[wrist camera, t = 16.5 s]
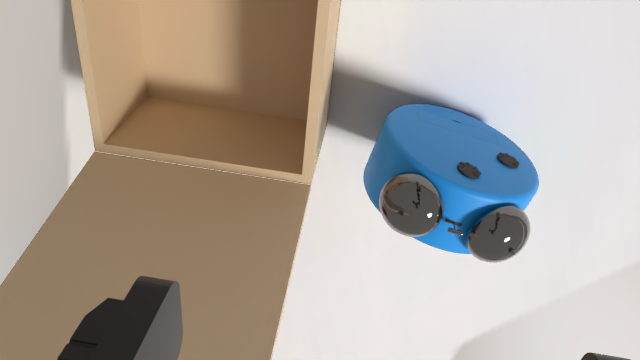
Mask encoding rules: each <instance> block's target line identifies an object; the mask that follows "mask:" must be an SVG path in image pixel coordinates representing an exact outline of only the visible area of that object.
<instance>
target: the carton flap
mask: <svg viewBox="0 0 640 360" xmlns="http://www.w3.org/2000/svg"><path fill="white" fill-rule="evenodd" d="M310 190H311V185H306V184H300V183H293V182H287V181H281V180H274V179H268V178H261V177H255V176H248V175H242V174H236V173H229V172H223V171H216V170H210V169H203V168H197V167H191V166H184V165H178V164H171V163H165V162H158V161H152V160H146V159H139V158H133V157H126V156H120V155H113V154H107V153H100V152H94V153H93V154H92V156H91V157H90V159H89V160H88V162H87V163H86V164H85V166H84V167H83V169H82V170H81V172H80V173H79V174H78V176H77V177H76V179H75V180H74V182H73V183H72V184H71V186H70V187H69V189H68V190H67V191H66V193H65V194H64V196H63V197H62V199H61V200H60V202H59V203H58V204H57V206H56V207H55V209H54V210H53V211H52V213H51V214H50V216H49V217H48V219H47V220H46V222H45V223H44V224H43V226H42V227H41V229H40V230H39V231H38V233H37V234H36V236H35V237H34V239H33V240H32V241H31V243H30V244H29V246H28V247H27V248H26V250H25V251H24V253H23V254H22V256H21V257H20V259H19V260H18V261H17V263H16V264H15V266H14V267H13V268H12V270H11V271H10V273H9V274H8V276H7V277H6V278H5V280H4V281H3V283H2V284H1V286H0V360H57V358H58V356H59V355H60V353H61V352H62V350H63V349H64V347H65V346H66V344H69V342H70V338H71V337H72V335H73V333H74V332H75V330H76V329H77V327H78V326H79V324H80V323H81V321H82V320H83V318H84V317H85V315H87V314H88V313H89V312H90V311H92V310H93V309H94V308H96V307H97V306H98V305H99V304H101V303H102V302H103V301H105V300H106V299H107V298H113V299H119V300H124V299H125V297H126V295H127V294H128V292H129V290H130V289H131V287H132V285H133V284H134V282H135V281H136V279H137V278H138V277H139V276H147V277H153V278H159V279H165V280H171V281H177V282H178V283H179V286H180V296H181V310H182V324H183V338H182V345H181V349H180V353H179V357H178V360H272V355H273V351H274V347H275V342H276V338H277V334H278V329H279V325H280V321H281V316H282V312H283V308H284V303H285V299H286V295H287V290H288V286H289V282H290V277H291V273H292V269H293V264H294V260H295V256H296V251H297V247H298V243H299V238H300V234H301V229H302V225H303V221H304V216H305V212H306V208H307V203H308V199H309V195H310Z"/></svg>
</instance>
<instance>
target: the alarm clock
mask: <svg viewBox="0 0 640 360" xmlns="http://www.w3.org/2000/svg"><path fill="white" fill-rule="evenodd" d="M364 185H365V188H366V191H367V194H368V196H369V198H370V200H371V201H372V203H373V204H374V206H375V207H376V208H377V209H378V210H379V212H380V213H381V214H382V216H383V219H384V220H385V222H386V223H387V224H388V225H389V226H390V227H391V228H392V229H393V230H394V231H396V232H398V233H400V234H402V235H405V236H409V237H413V238H415V239H417V240H419V241H421V242H423V243H425V244H428V245H430V246H433V247H436V248H439V249H442V250H445V251H450V252H455V253H463V254H472V255H473V256H474V257H476V258H477V259H479V260H481V261H485V262H501V261H505V260H508V259H510V258H512V257H513V256H515V255H516V254H518V253H519V252H520V251H521V250H522V249H523V247H524V246H525V245H526V243H527V241H528V238H529V235H530V222H529V219H528V217H527V215H526V214H525V212H524V210H525V208H526V207H527V205H528V204H529V202H530V201H531V199H532V198H533V197H534V195H535V193H536V192H537V189H538V186H539V180H538V174H537V171H536V169H535V167H534V165H533V163H532V162H531V161H530V159H529V158H528V157H527V155H526V154H525V153H524V152H523V151H522V150H521V149H520V148H519V147H518V146H517V145H516V144H515V143H514V142H512V141H511V140H510V139H509V138H507V137H506V136H505V135H503V134H502V133H500V132H499V131H497V130H496V129H494V128H492V127H491V126H489V125H487V124H485V123H483V122H481V121H479V120H477V119H475V118H473V117H471V116H468V115H466V114H463V113H461V112H458V111H455V110H452V109H448V108H444V107H440V106H435V105H428V104H409V105H404V106H400V107H398V108H396V109H394V110H393V111H392V112H390V113H389V115H388V116H387V118H386V120H385V122H384V124H383V127H382V129H381V132H380V134H379V136H378V139H377V141H376V143H375V146H374V148H373V150H372V153H371V155H370V157H369V160H368V162H367V165H366V167H365V170H364Z"/></svg>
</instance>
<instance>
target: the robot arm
mask: <svg viewBox="0 0 640 360" xmlns="http://www.w3.org/2000/svg"><path fill="white" fill-rule="evenodd" d="M182 338H183V324H182V310H181V296H180V286H179V283H178V282H177V281H171V280H165V279H159V278H153V277H147V276H139V277H138V278H137V279H136V281H135V282H134V284H133V285H132V287H131V289H130V290H129V292H128V294H127V295H126V297H125V299H124V300H119V299H113V298H107V299H106V300H105V301H103V302H102V303H101V304H99V305H98V306H97V307H96V308H94V309H93V310H92V311H90V312H89V313H88V314H87V315H85V317H84V318H83V320H82V321H81V323H80V324H79V326H78V327H77V329H76V330H75V332H74V333H73V335H72V337H71V338H70V342H69V344H66V346H65V347H64V349H63V350H62V352H61V353H60V355H59V356H58V358H57V360H178V357H179V353H180V349H181V345H182ZM581 360H630V359H625V358H619V357H614V356H607V355H601V354H596V353H587V354H585V355H584V356H583V358H582V359H581Z"/></svg>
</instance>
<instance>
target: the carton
mask: <svg viewBox="0 0 640 360" xmlns="http://www.w3.org/2000/svg"><path fill="white" fill-rule="evenodd" d="M340 4H341V0H71V6H72V12H73V18H74V24H75V30H76V37H77V43H78V49H79V55H80V61H81V67H82V73H83V80H84V86H85V92H86V98H87V104H88V110H89V116H90V123H91V129H92V135H93V141H94V147H95V151H99V152H105V153H111V154H118V155H124V156H131V157H137V158H144V159H150V160H156V161H163V162H169V163H176V164H182V165H189V166H195V167H202V168H208V169H214V170H221V171H227V172H234V173H240V174H247V175H253V176H259V177H266V178H272V179H279V180H285V181H292V182H298V183H304V184H311V183H312V179H313V175H314V172H315V168H316V164H317V160H318V157H319V153H320V149H321V145H322V141H323V138H324V134H325V130H326V125H327V116H328V108H329V99H330V91H331V82H332V73H333V65H334V56H335V47H336V39H337V30H338V21H339V13H340Z"/></svg>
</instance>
